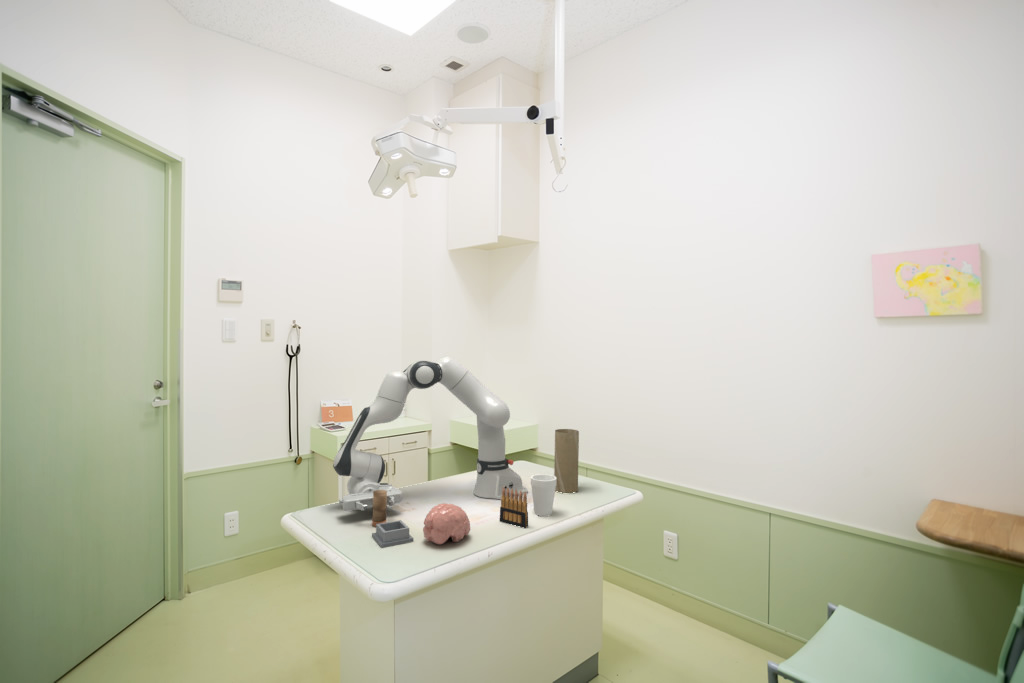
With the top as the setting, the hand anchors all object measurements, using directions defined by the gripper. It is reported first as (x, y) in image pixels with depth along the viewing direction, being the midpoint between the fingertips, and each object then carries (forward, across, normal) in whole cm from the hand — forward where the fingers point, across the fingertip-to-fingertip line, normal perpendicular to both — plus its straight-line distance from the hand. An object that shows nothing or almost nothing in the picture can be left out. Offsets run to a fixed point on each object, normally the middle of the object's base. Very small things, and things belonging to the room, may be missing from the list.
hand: (378, 505), depth 169 cm
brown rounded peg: (+1, 0, +6) cm, 6 cm away
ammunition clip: (+22, +40, +6) cm, 46 cm away
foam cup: (+18, +55, +6) cm, 58 cm away
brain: (+24, +15, +6) cm, 29 cm away
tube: (-1, +80, +6) cm, 80 cm away
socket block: (+15, 0, +6) cm, 16 cm away
